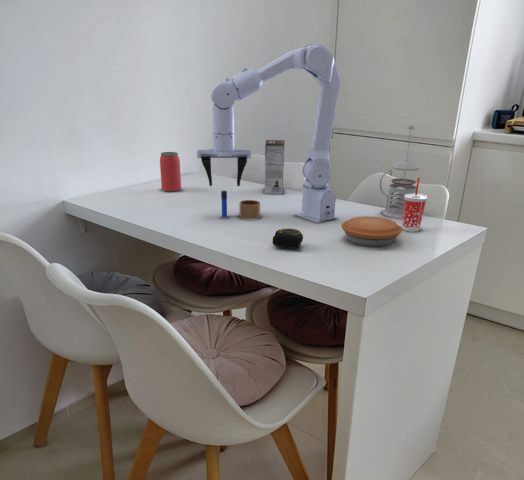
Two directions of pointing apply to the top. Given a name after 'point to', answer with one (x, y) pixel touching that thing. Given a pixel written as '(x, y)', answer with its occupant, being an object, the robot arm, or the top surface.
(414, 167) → the french press
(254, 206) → the brown wooden bowl
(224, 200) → the marker
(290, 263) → the top surface
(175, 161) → the beer can
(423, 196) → the beverage cup
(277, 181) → the coffee box
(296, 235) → the tape measure
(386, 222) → the pie
